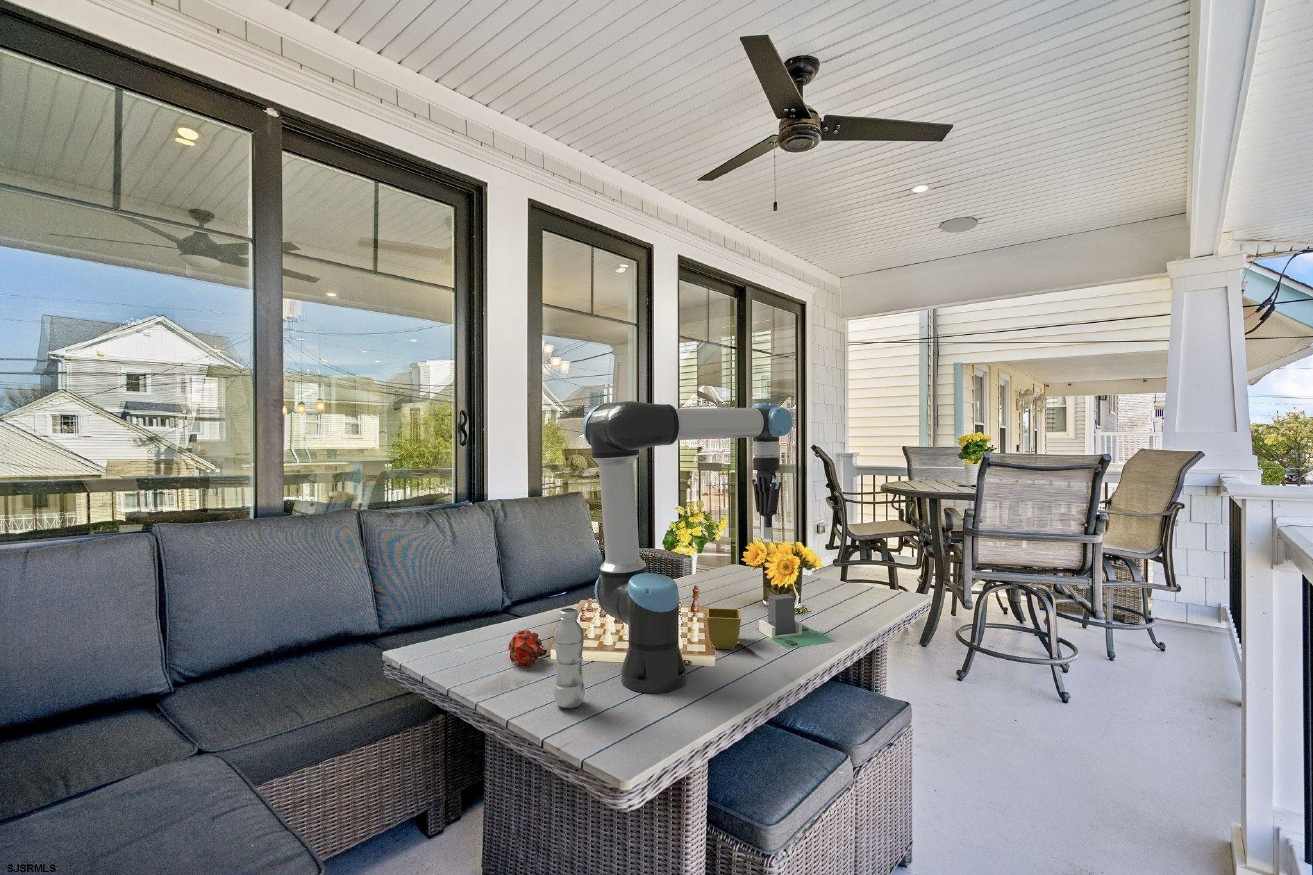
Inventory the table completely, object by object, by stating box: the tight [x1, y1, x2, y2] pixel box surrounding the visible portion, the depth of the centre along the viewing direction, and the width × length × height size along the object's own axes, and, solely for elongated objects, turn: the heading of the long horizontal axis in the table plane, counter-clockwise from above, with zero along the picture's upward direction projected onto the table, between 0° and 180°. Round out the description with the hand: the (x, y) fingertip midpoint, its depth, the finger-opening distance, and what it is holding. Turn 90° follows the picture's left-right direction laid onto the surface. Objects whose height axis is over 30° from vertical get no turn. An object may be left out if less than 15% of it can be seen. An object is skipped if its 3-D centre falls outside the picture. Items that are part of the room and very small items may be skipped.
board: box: [755, 619, 837, 649], centre depth 168 cm, size 15×17×4 cm
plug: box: [767, 593, 796, 636], centre depth 170 cm, size 7×4×10 cm, turn 110°
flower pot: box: [706, 607, 742, 650], centre depth 162 cm, size 9×9×9 cm
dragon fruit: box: [508, 629, 548, 669], centre depth 151 cm, size 8×8×12 cm
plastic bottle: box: [553, 607, 586, 709], centre depth 128 cm, size 6×7×20 cm
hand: (766, 538), depth 176 cm, fingers closed
